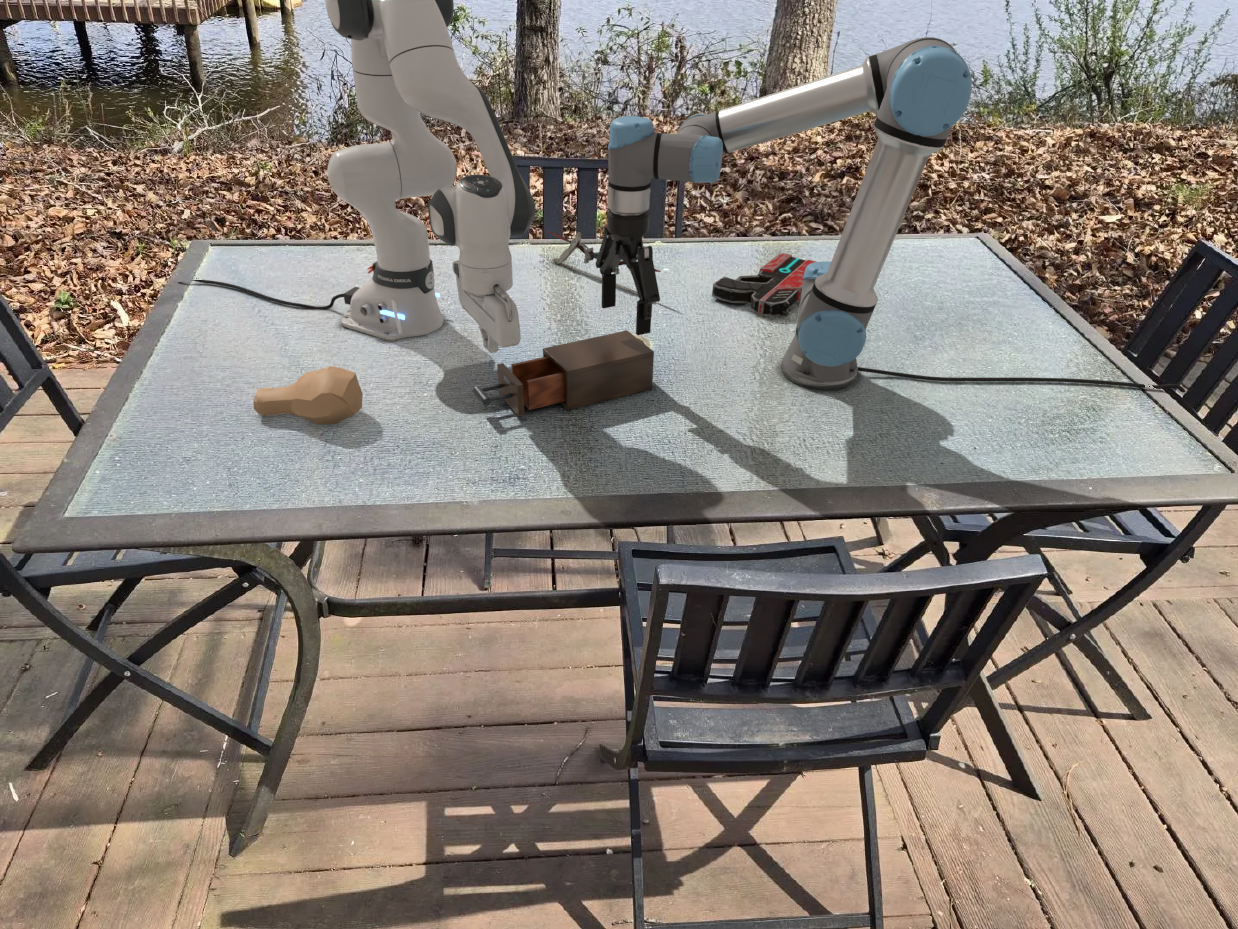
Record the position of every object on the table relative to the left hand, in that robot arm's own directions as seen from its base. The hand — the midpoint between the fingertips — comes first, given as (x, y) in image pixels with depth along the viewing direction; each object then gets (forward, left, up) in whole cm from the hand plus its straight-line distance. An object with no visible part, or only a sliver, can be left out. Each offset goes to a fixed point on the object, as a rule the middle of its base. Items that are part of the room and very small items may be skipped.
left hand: (491, 349), depth 157 cm
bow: (-3, +69, -13) cm, 70 cm away
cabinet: (+15, +16, -13) cm, 25 cm away
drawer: (+6, +6, -12) cm, 15 cm away
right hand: (+19, +20, 0) cm, 28 cm away
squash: (-31, -13, -13) cm, 36 cm away
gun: (+38, +78, -13) cm, 87 cm away
